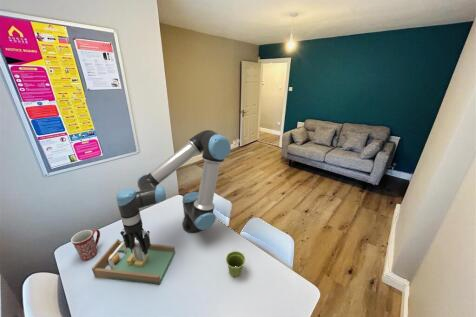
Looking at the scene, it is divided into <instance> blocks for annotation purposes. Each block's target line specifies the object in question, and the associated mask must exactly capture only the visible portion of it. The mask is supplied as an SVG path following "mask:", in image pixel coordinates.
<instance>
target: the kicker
mask: <svg viewBox="0 0 476 317" xmlns="http://www.w3.org/2000/svg"><path fill="white" fill-rule="evenodd" d="M137 243H138V244H136V245H135V250H136V254H137V259H136V260H134V256H133V253H132V254H131V255H130V257H129V258H128V259H127V263H128V265H132V264H133V263H134V262H135V263H134V265H135V267H143V266H144V264H145V262H146V261H147V259H148V258H149V256H148V254H147V258H146V259H145V261H144V260H143V257H142V253H141V250H142V248H141V246H140V244H139V242H137Z"/></svg>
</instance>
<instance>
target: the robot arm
mask: <svg viewBox="0 0 476 317" xmlns="http://www.w3.org/2000/svg"><path fill="white" fill-rule="evenodd" d="M231 148H232V147H231V143H230V141H229V140H228V138H227V137H225V136H224V135H222V134H221V133H218V132H216V131H213V130H210V129H206V130H203V131H200V132H198V133H196V134H195V135H194V136H192V137H191V138H190V139H188V140H187V143H185V145H184V146H181V148H179V150H177V151H175V153H173V154H172V155H171V156H169V157H168V158H167V159H166V160H164V161H163V162H161V164H159V165H158V166H156V167H155V168H154V169H153V170H151V171H150V172H149V173H148V174H147V173H146V174H142V175H140V176H139V177H138V178H137V187H138V189H139V190H138V191H136V190H135V189H134V188H124V189H121V190H119V191H118V192H117V193H116V197H115V198H116V202H117V203H116V204H117V207H118V210H119V214H120V217H121V218H120V219H121V223H122V225H123V229H122V230H121V231H120V233H119V234H120V235H121V237H122V241H124V243H125V246H126V248H130V249H131V253H133V256H134V260H136V259H137V254H136V250H135V242H136V241H137V243H139V244H140V246H141V248H142V250H141V253H142V257H143V260H144V261H145V259H146V258H147V253H148V249H149V247H150V246H151V245H150V244H151V240H150V231H149V230H147V231H145V229H144V228H143V220H142V217H141V211H140V209H143V208H145V207H149V206H151V205H155V204H159V203H162V202H163V201H164V202H165V201H166V198H167V196H166V191H165V188H164V186H162V185H159V184H161V183H162V182H164V180H166V179H168V177H170V176H171V175H172V174H173V173H174V172H176V171H177V170H178V169H180V168H181V167H182V166H183V165H184V164H186V163H187V162H189V161H190V160H191V159H192V158H193V157H195V156H197V154H198V155H199V154H201V153H202V157H201V158H202V160H204V162H203V167H202V172H201V176H200V183H199V189H198V192H197V191H191V192H188V193H186V194H184V195H183V196H182V207H183V220H182V224H181V225H182V229H183V231H185V232H187V233H188V234H190V233H191V234H196V233H199V232H201V231H205V230H207V229H210V228H211V227H212V226H213V225H214V224H215V222H216V217H217V216H216V214H215V213H214V210H215V204H214V202H213V201H214V196H215V193H216V192H215V191H216V186H217V181H218V178H219V171H220V167H221V164H222V163H223V162H224V161H225V159H226V158H227V157H228V156H229V155H230V153H231Z"/></svg>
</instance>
